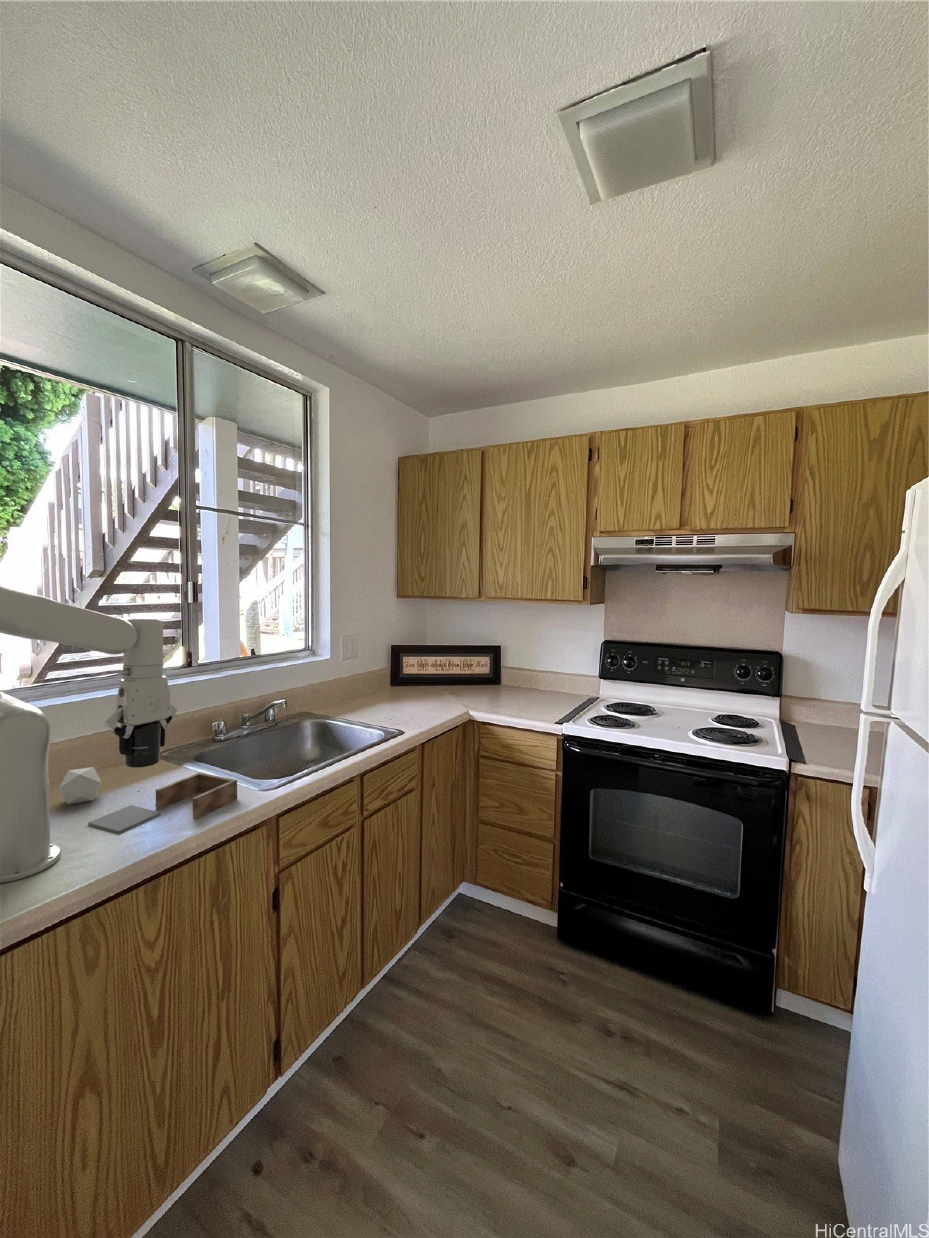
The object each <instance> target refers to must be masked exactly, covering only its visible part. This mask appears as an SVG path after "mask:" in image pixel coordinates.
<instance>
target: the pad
mask: <svg viewBox="0 0 929 1238" xmlns="http://www.w3.org/2000/svg"><path fill="white" fill-rule="evenodd" d="M161 815H162V813H161V812H160V811H158V810H152V809H148V808H145V807H141V806H136V805H128V806H125V807H123V808H120V809H118V810H116V811H113V812H111V813H108V814H105V815H102V816H101V817H99V818H96V819H93V820H91V821H89V822H88V824H87V825H88V826H90V827H94V828H98V829H102V830H104V831H107V832H108V831H109V832H112V833H115V834H122V833H123V832H126V831H128V830H131V829H133V828H135V827H137V826H139V825H141V824H144V823H146V822H148V821H150V820H152V819H155V818H157V817H159V816H161Z"/></svg>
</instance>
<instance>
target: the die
mask: <svg viewBox="0 0 929 1238" xmlns="http://www.w3.org/2000/svg"><path fill="white" fill-rule="evenodd" d="M102 783H103V782H102V781H101V779H100V776H99V774H98V773H97V770H96V769H95V767H94V766H92V767H90V766H89V767H84V768H78V769H69V770H68V771H67V773H65V776H64V778H63V780H62V781H61V784H60V786H59V787H58V790H59V791H60V793H61V795H62V797H63V798H64V800H65V802H66V805H73V804H79V803H85V802H91V801H94V800H95V798H96V795H97V793H98V792H99V789H100V787H101V785H102Z"/></svg>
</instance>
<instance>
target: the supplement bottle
mask: <svg viewBox="0 0 929 1238" xmlns="http://www.w3.org/2000/svg"><path fill="white" fill-rule="evenodd" d="M126 728H127V727H126ZM130 737H132V739H133V749H132V755H130V756H127V755H124V765H125V766H127V768H128V767H129V768H136V769H137V768H147V767H150V766H154V765H157V764H158V763H159V762H160V759H161V746H160V743H161V725H160V723H159V722H157V721H155V722H151V723H147V724H142V725H137V726H134V728H133V730H132V732H131V734H130Z"/></svg>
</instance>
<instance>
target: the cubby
mask: <svg viewBox="0 0 929 1238" xmlns="http://www.w3.org/2000/svg"><path fill="white" fill-rule="evenodd" d="M197 794H198V795H197ZM195 795H196V796H195ZM193 796H194V797H193ZM190 797H192V820H198V819H200V818H202V817H204V816H207V815H209V814H211V812H214V811H216V810H218V809H220V808H223V807H224V806H227V805H228V804H231V803H232V802H235V801H236V800H238V780H237V779H233V778H229V777H223V776H218V775H214V774H208V773H203V772H197V773H194V774H191V775H189V776H187V777H184V778H180V779H179V780H177V781H174V782H171V783H169V784H166V785H164V786H161V787H159V788H155V811H161V810H163V809H166V808H168V807H170V806H172V805H175V804H177V803H179V802H181V801H184V800H185V799H188V798H190Z"/></svg>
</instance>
